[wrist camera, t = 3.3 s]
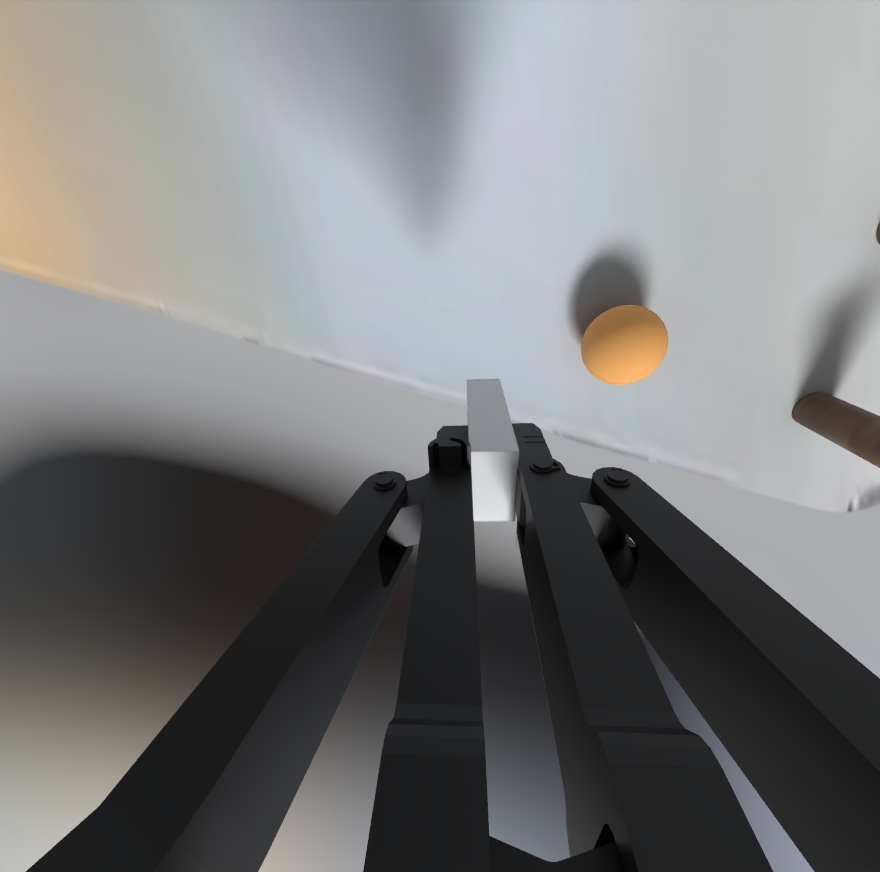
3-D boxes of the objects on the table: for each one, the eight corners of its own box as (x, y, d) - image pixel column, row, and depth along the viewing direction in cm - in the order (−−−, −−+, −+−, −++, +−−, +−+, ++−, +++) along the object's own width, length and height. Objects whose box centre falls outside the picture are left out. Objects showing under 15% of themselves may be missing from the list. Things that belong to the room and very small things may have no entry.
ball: (577, 300, 24) (602, 314, 20) (653, 297, 24) (696, 310, 20) (568, 371, 27) (589, 397, 22) (637, 369, 26) (672, 395, 22)
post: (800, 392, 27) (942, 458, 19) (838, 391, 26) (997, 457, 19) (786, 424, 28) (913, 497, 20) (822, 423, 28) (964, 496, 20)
